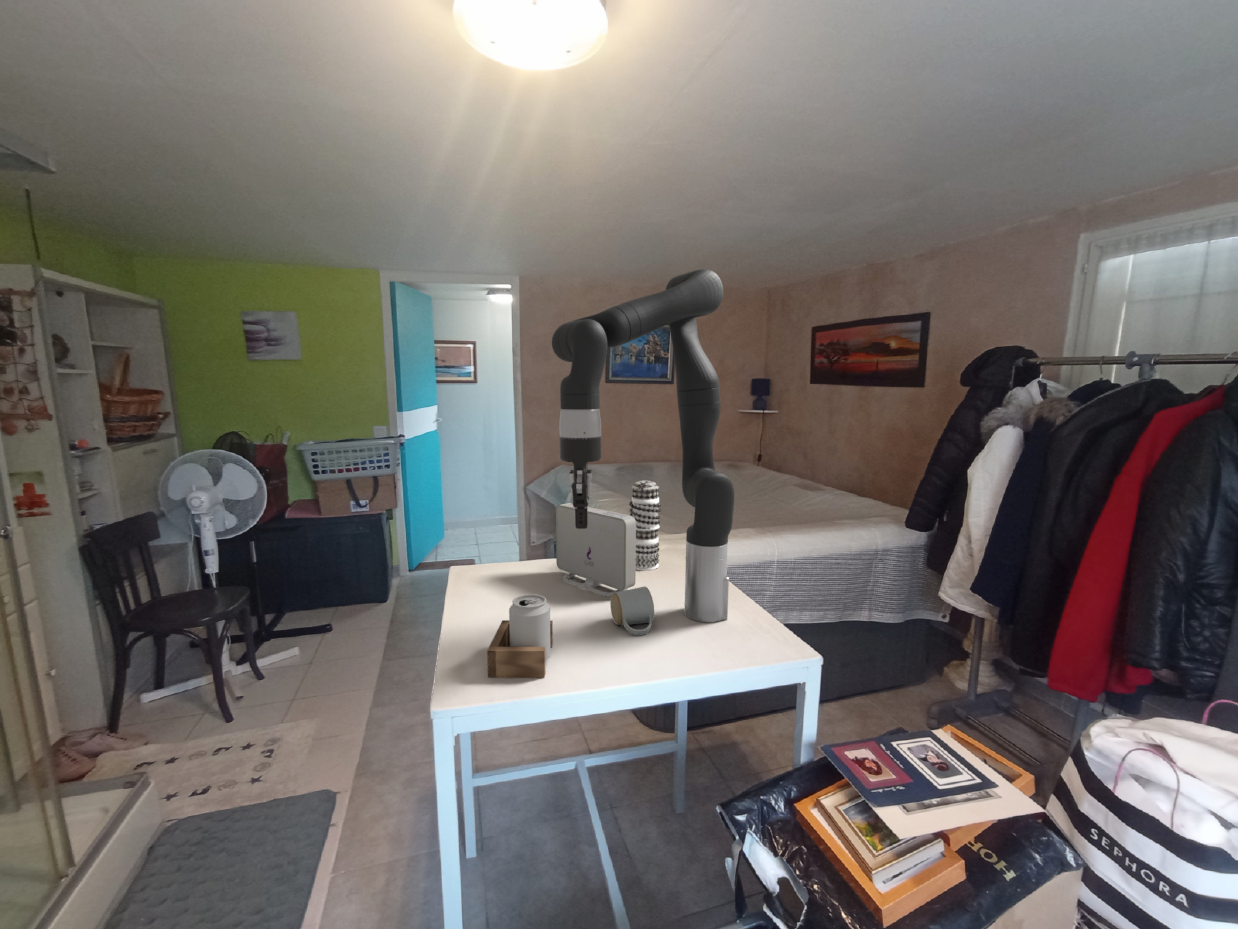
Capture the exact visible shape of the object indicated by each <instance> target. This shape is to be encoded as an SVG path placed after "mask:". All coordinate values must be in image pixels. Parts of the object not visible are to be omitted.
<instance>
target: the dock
mask: <svg viewBox="0 0 1238 929" xmlns="http://www.w3.org/2000/svg"><path fill="white" fill-rule="evenodd" d="M553 626H554V624H553V620H550V649H552V648H553V645H554V637H553V636H554V635H553V634H554V632H553V631H554V630H553V629H554V628H553ZM486 654H487V655H486V657H487V658H486V660H487V662H486V663H487V665H486V666H487V678H489V679H490V678H491V679H492V678H496V679H497V678H505V679H506V678H507V679H508V678H511V679H513V678H514V679H516V678H519V679H520V678H521V679H523V678H526V679H527V678H528V679H529V678H531V679H532V678H534V679H535V678H536V679H537V678H538V679H539V678H540V679H542V678H546V674H547V673H546V669H547V668H546V662H545V647H510V627H509V619H508V620H506V619H505V620H501V622H500V624H499V626H498V628H497V630H496V632H495V634H494V636H493V638H492V640H491V642H490V644H489V646H488V648H487V650H486Z"/></svg>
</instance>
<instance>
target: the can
mask: <svg viewBox="0 0 1238 929" xmlns="http://www.w3.org/2000/svg"><path fill="white" fill-rule="evenodd" d="M511 603H512V605H510V607H509V608H508V615H509V616H508V618H509V619H508V620H509V627H510V647H545V663H546V662H547V661H548V660H549V659H550V657H551V648H550V621H551V605H550V604H549V603H548V602H547V598H546V597H545V596H544V595H541V594H537V593H536V594H535V593H527V594H522V595H518V596H517V597H514V599H512V602H511Z"/></svg>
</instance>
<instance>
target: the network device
mask: <svg viewBox="0 0 1238 929" xmlns="http://www.w3.org/2000/svg"><path fill="white" fill-rule="evenodd" d="M555 534H556V535H555V538H556V539H555V540H556V541H555V542H556V545H555V546H556V547H555V549H556V550H555V553H556V555H555V556H556V558H555V561H556V567H557V569H558V570H559V571H562V572H563V571H564V572H565V573H568V574H565V575H564V576H562V581H563V582H564V583H566V582H567V583H566V584H569V585H572V586H574V585H575V587H577V588H580V589H583V590H586V591H589V592H591V593H594V594H596V595H600V596H603V597H612V595H613V594H615V593H617V592H620V591H624V590H629V588H630V589H631V588H632V587H634V586H635V584H636V573H637V572H636V520H635V518H634V517H632V516H630V515H628V514H623V513H619V512H615V511H610V510H605V509H600V508H595V507H591V506H589V507H588V525H587V528H586V529H577V528H576V527H575V509H574V505H573V502H567V503H564V504H559V505H557V506H556V507H555ZM575 575H577V576H578V577H581V578H584V579H585V581H584V582H577V581H574V580H572V579H570V578H574V577H577V576H575ZM573 576H574V577H573ZM567 578H568V579H567ZM601 585H604V586H606V587H610V588H613V589H615V590H614V591H611V592H604V591H603V590H599V589H597V588H596V587H597V586H601Z"/></svg>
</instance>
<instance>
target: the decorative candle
mask: <svg viewBox="0 0 1238 929" xmlns="http://www.w3.org/2000/svg"><path fill="white" fill-rule="evenodd" d="M659 488H660V486H658V485H657V483H656V482H655V481H653V480H648V479H647V480H645V479H644V480H637V481H635V482H634V484H633V485H632V486H631V489H632V495H631V500H630V501H629V506H630V508H629V512H630V515H629V516H632V517H634V518H635V520H636V570H637V571H643V572H644V571H645V572H646V571H654V570H656V568H657V569H658V568H659V567H660V565H659V562H660V559H659V558H660V554H659V551H660V548H659V547H660V542H659V529H660V527H661V526H660V525H659V524H661V521H660V518H661V515H659V513H660V512H662V510H661V508H660V507H661V506H662V504H661V503H660V497H659V490H660V489H659Z"/></svg>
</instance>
